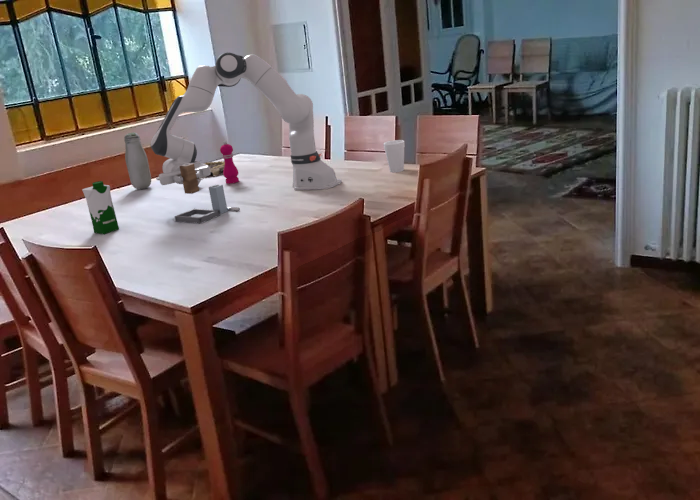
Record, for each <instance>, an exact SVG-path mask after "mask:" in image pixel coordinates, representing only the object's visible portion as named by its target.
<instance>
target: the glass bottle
mask: <svg viewBox="0 0 700 500" xmlns="http://www.w3.org/2000/svg"><path fill="white" fill-rule="evenodd" d="M123 140H124V143H125V151H124V152H125V154H124V155H125V156H124V157H125V158H124V159H125V164H126V168H127V169H126V170H127V172H128V173H127V174H128V176H129V180H130V183H131V186H132V187H133V188H134V189H136V190H145V189H147V188H149V187H150V186H151V184H152V175H151V171H150V165H149V160H148V156H147V153H146V151H145V149H144V147H143V145H142V142H141V138H140V135H139V133H137V132H128V133H126V134H125V135H124V138H123Z"/></svg>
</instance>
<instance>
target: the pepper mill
mask: <svg viewBox="0 0 700 500" xmlns="http://www.w3.org/2000/svg"><path fill="white" fill-rule="evenodd" d="M219 151H220V154H222V155H221V156H222V159H223V160H224V162H225V166H224V170H223V172H222V176H223V177H224V178H225V183H226V184H228V185H229V184H236V183H238V182H240V180H239V177H238V176H239V169H238V168H237V166H236V165H235V163H234V160H233V158H234V155H233V151H234V148H233V146H232V145H231V144H229V143H228V142H227V140H223V145H221V146H220V148H219Z"/></svg>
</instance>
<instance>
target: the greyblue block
mask: <svg viewBox="0 0 700 500" xmlns="http://www.w3.org/2000/svg"><path fill="white" fill-rule="evenodd" d="M208 192H209V197H210V202H211V206H212V210H219V212H220V215H222V214H223V213H224V214H225V213H226V212H229V211H228V210H227V207H228V206H227V200H226V195H225V190H224V185H223V184H213V185H211V186H208Z"/></svg>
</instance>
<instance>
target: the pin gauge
mask: <svg viewBox="0 0 700 500" xmlns="http://www.w3.org/2000/svg"><path fill="white" fill-rule="evenodd" d="M227 210H228V211H227V212H239V210H241V209H240V207H234V206H227Z"/></svg>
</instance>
